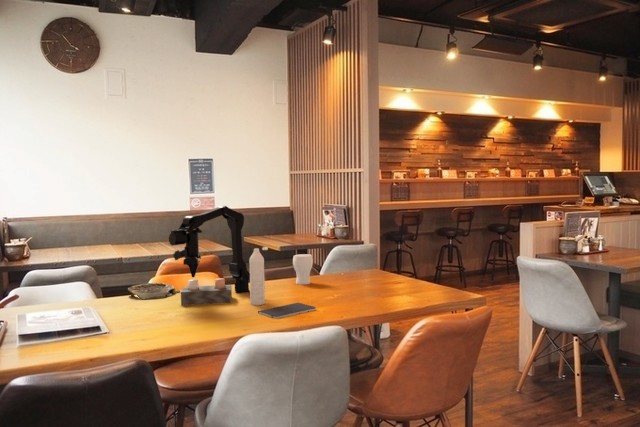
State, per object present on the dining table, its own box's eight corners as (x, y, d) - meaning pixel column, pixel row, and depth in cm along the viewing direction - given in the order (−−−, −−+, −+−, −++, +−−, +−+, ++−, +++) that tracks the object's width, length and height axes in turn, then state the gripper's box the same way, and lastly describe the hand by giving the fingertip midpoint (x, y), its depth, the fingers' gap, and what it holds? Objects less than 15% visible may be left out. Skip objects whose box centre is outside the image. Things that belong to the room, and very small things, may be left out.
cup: (290, 284, 280) (289, 256, 279) (297, 281, 290) (296, 253, 289) (309, 285, 277) (309, 257, 276) (315, 281, 287) (315, 254, 286)
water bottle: (254, 306, 233) (252, 249, 232) (248, 303, 239) (246, 248, 237) (272, 303, 238) (270, 248, 236) (265, 300, 244) (264, 246, 242)
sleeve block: (231, 297, 253) (231, 284, 252) (231, 302, 241) (230, 289, 240) (184, 299, 250) (183, 286, 249) (181, 305, 238) (180, 292, 237)
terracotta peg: (225, 290, 248) (224, 278, 248) (224, 292, 244) (224, 279, 243) (215, 290, 248) (215, 278, 247) (215, 292, 243) (214, 280, 243)
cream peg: (198, 291, 246) (198, 279, 246) (198, 293, 242) (197, 280, 242) (189, 292, 246) (188, 279, 246) (188, 294, 242) (187, 281, 241)
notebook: (298, 305, 235) (258, 314, 221) (298, 302, 235) (257, 310, 221) (316, 310, 225) (275, 320, 212) (316, 307, 225) (275, 316, 211)
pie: (118, 302, 247) (117, 292, 247) (123, 292, 273) (122, 282, 273) (180, 298, 254) (180, 287, 254) (179, 288, 281) (179, 278, 281)
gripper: (176, 241, 251) (177, 274, 252) (171, 246, 232) (172, 281, 233) (200, 240, 252) (201, 273, 253) (197, 245, 234) (198, 280, 235)
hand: (193, 277), depth 244 cm, fingers closed
